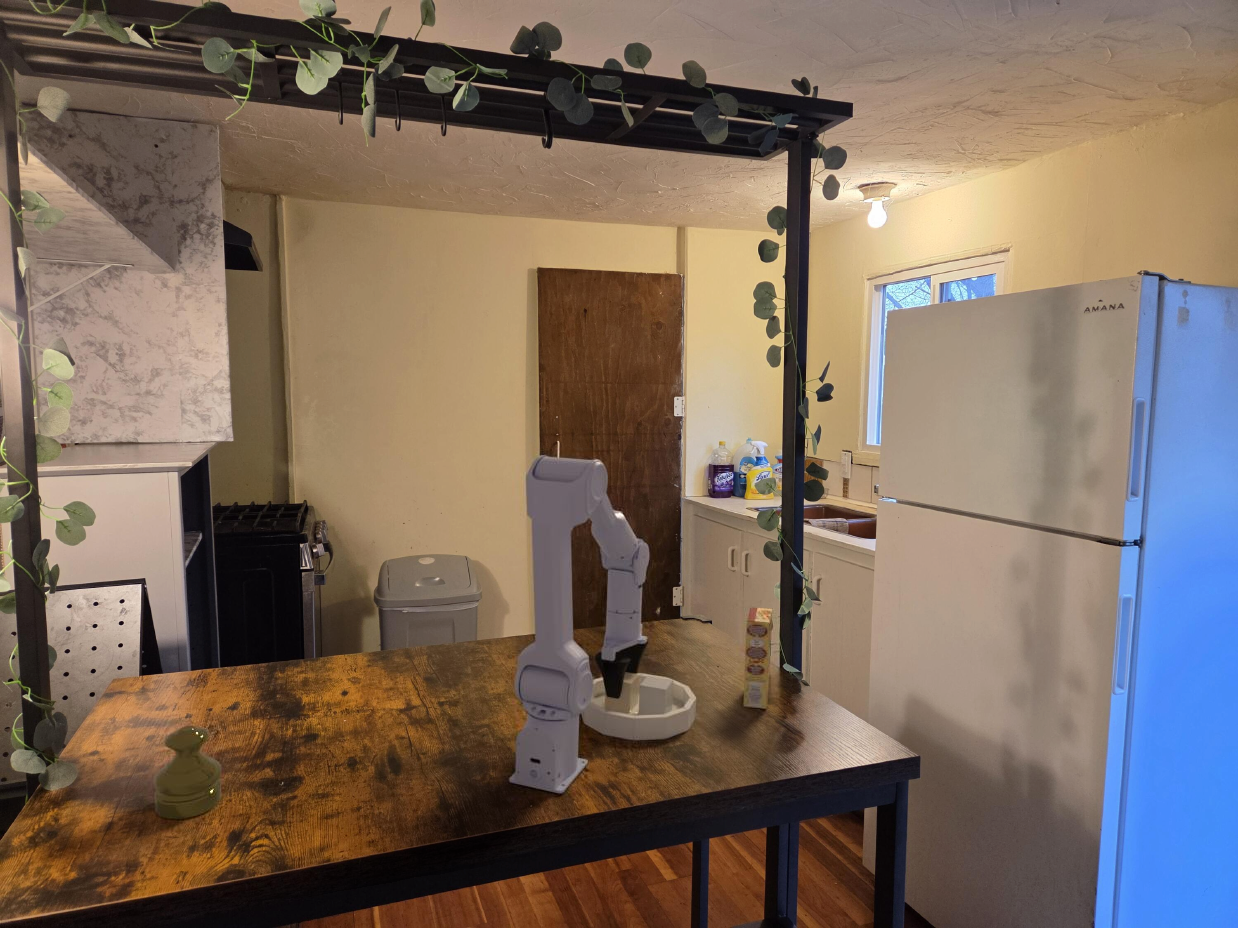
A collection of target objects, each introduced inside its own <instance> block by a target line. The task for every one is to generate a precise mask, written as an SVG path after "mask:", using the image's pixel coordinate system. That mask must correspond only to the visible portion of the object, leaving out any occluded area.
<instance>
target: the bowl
mask: <svg viewBox="0 0 1238 928" xmlns="http://www.w3.org/2000/svg"><path fill="white" fill-rule="evenodd" d="M637 674H639V690H640V684H641V683H642V682H643V681H644V680H645V679H646V678H647V677H648V676H651V677H657V678H663V679H669V680H673V703H672V710H671V712H669V713H666V714H661V715H639V694H638V704H637V705H636V706H635V707H634V709H633V710H632V711H631V712H630V713H627V712H621V711H616V710H610V709H605V686H604V681H603V677H602V676H601V677H599V678H595V679H594V678H593V682H594V687H593V694H592V698H591V700H590V703H589V705H588V706H587V708H586V709H585V710H584V711H583V712H582V713H580V715H581V718H582V721H583V724H585V725H586V726H588V727H589V728H592V729H593V730H594V731H597V732H598V733H601V734H602V735H604V736H609V737H614V738H619V739H625V740H630V741H648V740H649V741H650V740H666V739H669V738H671V737H674V736H678V735H680V734H682V733H685V732H687V731H689V729H690V728H691V726H692V725H693V723H694V722H695V720H696V713H697V711H696V709H697V697H696V696H695V694H694V692H693V691H692V690H691V688H690V686H689V685H686V684H684V683H682V682H680V681H677V680H675V679H672V678H671V677H667V676H661V675H660V676H659V675H656V674H655V675H653V674H648V673H643V672H639V673H638V672H637Z"/></svg>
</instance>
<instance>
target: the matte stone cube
mask: <svg viewBox="0 0 1238 928" xmlns="http://www.w3.org/2000/svg"><path fill="white" fill-rule="evenodd" d="M673 680H674V679H672V680H669V679H663V678H657V677H651V676H648V677H647V678H646V679H645V680H644V681H643V682H642V683H641V684H640V690H639V715H661V714H666V713H669V712H671V710H672V703H673Z"/></svg>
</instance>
